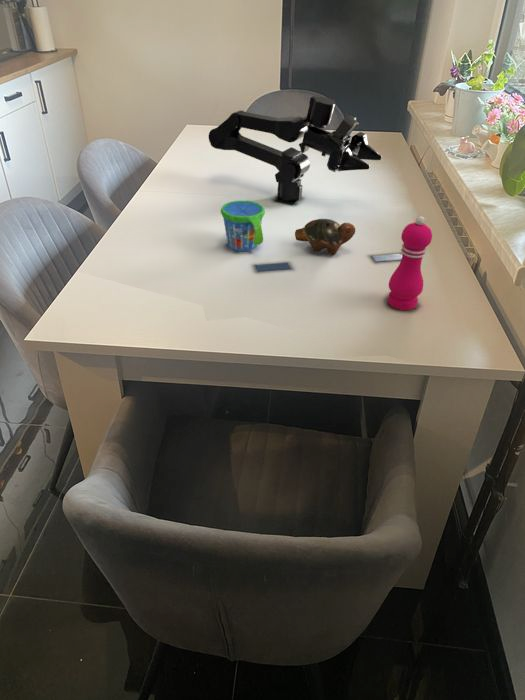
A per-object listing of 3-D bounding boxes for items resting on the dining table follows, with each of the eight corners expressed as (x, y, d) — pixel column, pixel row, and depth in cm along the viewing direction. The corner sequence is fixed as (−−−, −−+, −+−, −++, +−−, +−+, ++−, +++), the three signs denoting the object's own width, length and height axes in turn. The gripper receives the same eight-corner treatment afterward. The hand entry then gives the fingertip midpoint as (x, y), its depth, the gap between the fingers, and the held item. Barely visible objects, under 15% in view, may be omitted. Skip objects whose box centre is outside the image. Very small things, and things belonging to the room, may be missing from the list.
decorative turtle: (353, 260, 134) (355, 231, 129) (292, 257, 137) (292, 228, 132) (354, 241, 142) (356, 213, 137) (297, 239, 144) (297, 211, 139)
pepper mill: (381, 294, 122) (398, 209, 110) (412, 294, 122) (432, 209, 110) (390, 312, 116) (408, 224, 104) (423, 311, 117) (445, 224, 105)
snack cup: (211, 237, 142) (211, 199, 136) (248, 230, 146) (249, 194, 140) (235, 263, 131) (236, 223, 125) (274, 255, 135) (276, 216, 129)
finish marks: (255, 265, 131) (255, 265, 130) (400, 254, 138) (400, 253, 138) (258, 271, 128) (258, 271, 128) (405, 259, 136) (405, 259, 136)
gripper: (317, 119, 138) (372, 141, 134) (346, 105, 151) (397, 125, 147) (306, 161, 145) (358, 183, 141) (334, 144, 158) (383, 164, 154)
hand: (375, 162), depth 146 cm, fingers open, 9 cm apart
